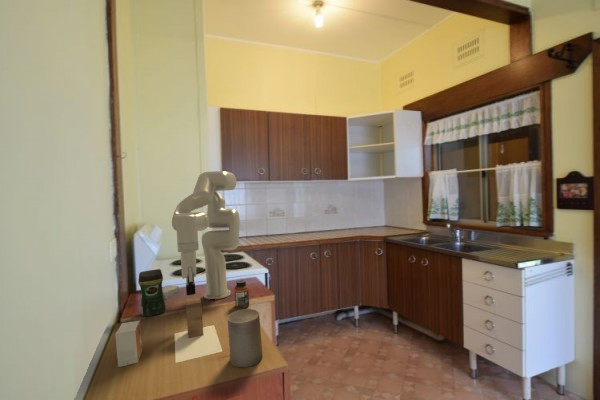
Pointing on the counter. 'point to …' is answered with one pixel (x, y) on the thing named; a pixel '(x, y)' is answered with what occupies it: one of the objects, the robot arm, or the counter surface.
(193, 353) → the cream mat
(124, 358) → the small box
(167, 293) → the stone block
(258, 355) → the pillar candle
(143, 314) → the coffee jar
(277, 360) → the counter surface
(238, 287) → the supplement bottle
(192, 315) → the walnut block
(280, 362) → the counter surface
